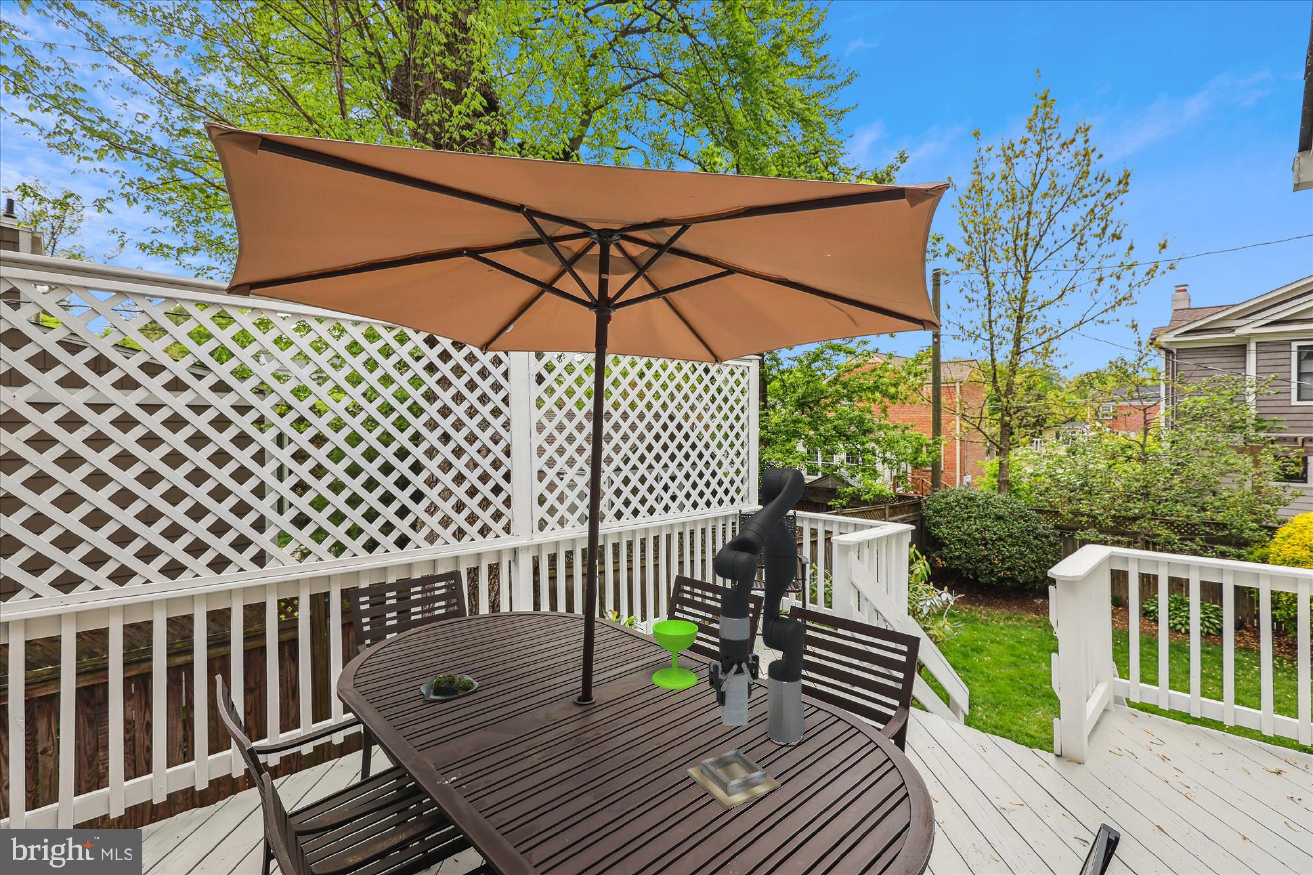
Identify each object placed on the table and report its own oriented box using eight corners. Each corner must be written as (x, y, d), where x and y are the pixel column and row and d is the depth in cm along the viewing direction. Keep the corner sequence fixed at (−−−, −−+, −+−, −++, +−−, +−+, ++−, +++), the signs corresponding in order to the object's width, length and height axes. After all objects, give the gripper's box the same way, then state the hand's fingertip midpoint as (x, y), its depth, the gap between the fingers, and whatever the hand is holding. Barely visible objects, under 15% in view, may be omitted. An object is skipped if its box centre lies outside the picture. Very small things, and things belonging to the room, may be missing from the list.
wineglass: (699, 689, 186) (699, 635, 186) (651, 688, 186) (651, 634, 186) (696, 670, 202) (697, 620, 202) (652, 669, 202) (652, 619, 202)
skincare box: (744, 717, 137) (745, 668, 138) (748, 726, 133) (748, 675, 133) (720, 717, 137) (720, 668, 137) (722, 726, 133) (723, 675, 133)
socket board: (738, 756, 146) (738, 742, 146) (780, 788, 132) (780, 773, 132) (687, 773, 138) (687, 759, 138) (726, 810, 124) (727, 794, 124)
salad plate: (409, 687, 186) (409, 673, 186) (462, 674, 197) (462, 660, 197) (427, 708, 171) (427, 693, 171) (483, 692, 182) (484, 678, 182)
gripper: (747, 624, 142) (747, 689, 142) (701, 633, 135) (700, 701, 135) (767, 633, 136) (766, 701, 136) (720, 642, 129) (719, 714, 128)
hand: (734, 701), depth 135 cm, fingers closed on skincare box, 7 cm apart
